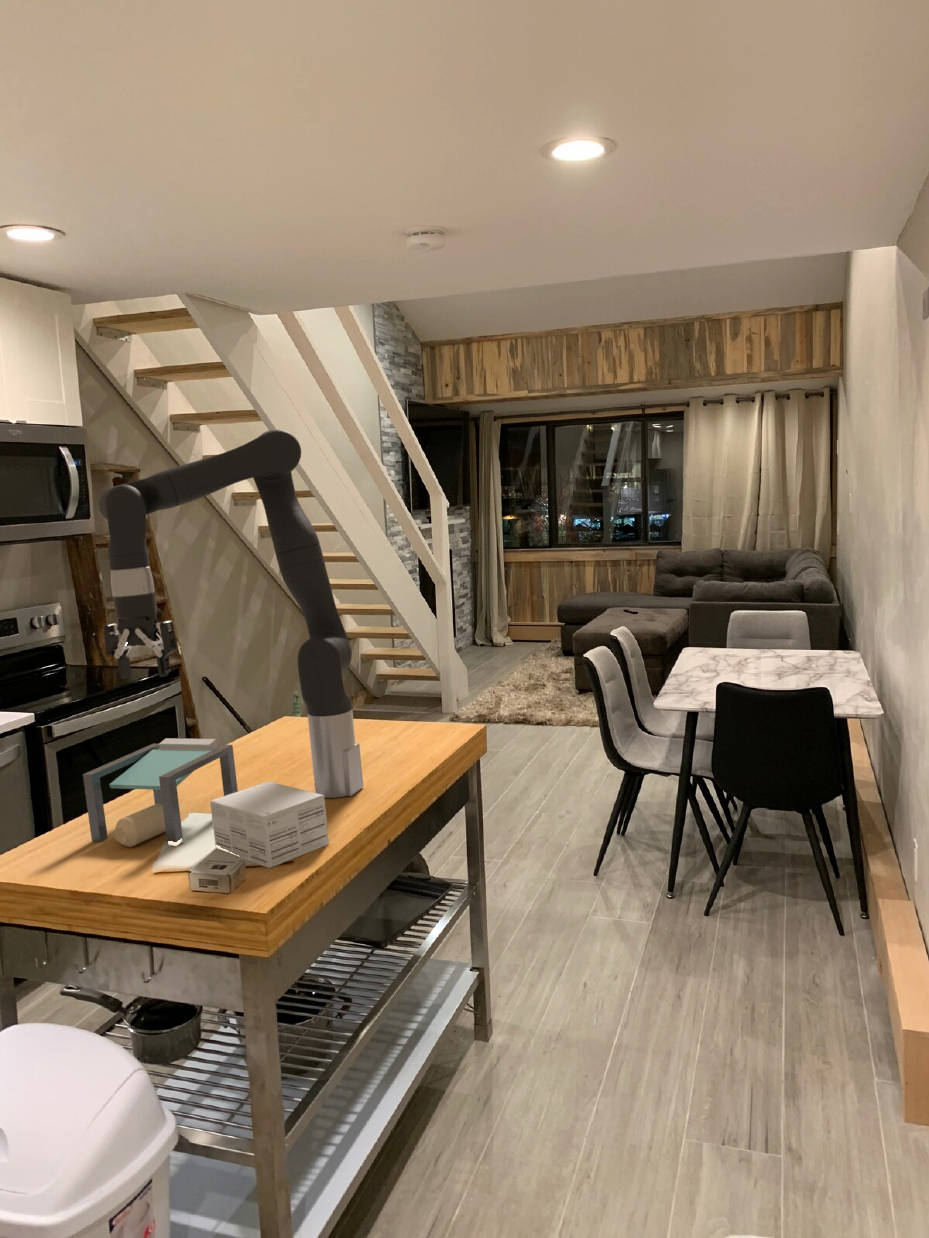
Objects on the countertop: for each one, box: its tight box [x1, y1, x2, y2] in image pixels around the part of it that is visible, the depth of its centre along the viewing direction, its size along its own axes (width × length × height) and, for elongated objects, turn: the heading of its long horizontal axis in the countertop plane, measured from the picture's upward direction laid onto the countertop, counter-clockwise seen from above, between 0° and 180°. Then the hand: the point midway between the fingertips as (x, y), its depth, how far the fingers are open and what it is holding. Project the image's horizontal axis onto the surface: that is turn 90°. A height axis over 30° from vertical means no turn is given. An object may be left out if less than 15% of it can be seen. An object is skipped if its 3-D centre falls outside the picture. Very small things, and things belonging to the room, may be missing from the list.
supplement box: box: [209, 781, 330, 869], centre depth 165 cm, size 17×13×9 cm
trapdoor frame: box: [82, 742, 239, 843], centre depth 181 cm, size 21×19×13 cm
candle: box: [113, 803, 166, 848], centre depth 173 cm, size 6×6×10 cm
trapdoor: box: [109, 737, 219, 791], centre depth 182 cm, size 17×14×2 cm
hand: (145, 676), depth 176 cm, fingers open, 8 cm apart
